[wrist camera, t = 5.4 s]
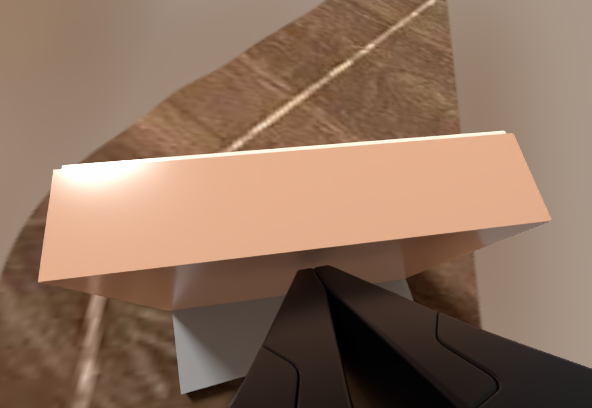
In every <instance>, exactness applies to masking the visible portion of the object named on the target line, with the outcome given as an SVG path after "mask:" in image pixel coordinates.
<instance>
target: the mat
mask: <svg viewBox="0 0 592 408" xmlns="http://www.w3.org/2000/svg"><path fill="white" fill-rule="evenodd" d="M372 284H375V285H377V286H379V287H382V288H384V289H386V290H389V291H391V292H393V293H396V294H398V295H400V296H403V297H405V298H407V299H409V300H412V301H414V300H413V298H412V295H411V292H410V289H409V287H408V284H407V281H406V278H405V279H401V280H394V281H387V282H379V283H372ZM285 296H286V295H284V296H277V297H269V298H262V299H255V300H248V301H240V302H233V303H226V304H218V305H211V306H204V307H196V308H189V309H182V310H174V311H172V315H173V325H174V334H175V343H176V352H177V361H178V370H179V379H180V388H181V394H184V393H188V392H191V391H195V390H198V389H202V388H205V387H209V386H212V385H216V384H219V383H223V382H226V381H230V380H234V379H237V378H241V377H244V376H246V375H247V373H248V371H249V369H250V367H251V365H252V363H253V361H254V359H255V357H256V355H257V353H258V351H259V349H260V348H261V346H262V344H263V342H264V340H265V337H266V335H267V333H268V331H269V329H270V327H271V325H272V323H273V321H274V319H275V316H276V314H277V312H278V310H279V308H280V306H281V304H282V302H283V300H284V298H285Z"/></svg>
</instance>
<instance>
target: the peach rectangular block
mask: <svg viewBox="0 0 592 408" xmlns="http://www.w3.org/2000/svg"><path fill="white" fill-rule="evenodd" d="M549 221H552V220H551V218H550V215H549V213H548V211H547V209H546V206H545V204H544V202H543V199H542V197H541V195H540V193H539V190H538V188H537V186H536V184H535V182H534V179H533V177H532V175H531V172H530V170H529V168H528V165H527V163H526V161H525V159H524V157H523V154H522V152H521V150H520V148H519V145H518V143H517V141H516V138H515V136H514V134H513V133H508V134H506V132H505V131H495V132H483V133H470V134H457V135H444V136H431V137H419V138H406V139H393V140H381V141H368V142H355V143H342V144H330V145H317V146H304V147H292V148H279V149H266V150H254V151H241V152H228V153H215V154H203V155H190V156H177V157H165V158H152V159H139V160H127V161H114V162H101V163H88V164H76V165H63V166H62V169H59V170H54V172H53V179H52V186H51V193H50V200H49V207H48V214H47V222H46V229H45V236H44V243H43V250H42V257H41V264H40V271H39V278H38V282H40V283H45V284H49V285H54V286H58V287H63V288H67V289H72V290H76V291H81V292H85V293H90V294H95V295H99V296H104V297H108V298H113V299H117V300H122V301H126V302H131V303H135V304H140V305H144V306H149V307H153V308H158V309H162V310H167V311H174V310H182V309H189V308H196V307H204V306H211V305H218V304H226V303H233V302H240V301H248V300H255V299H262V298H269V297H277V296H284V295H286V293H287V291H288V289H289V287H290V285H291V283H292V281H293V279H294V277H295V275H296V272H297V271H298V270H301V269H307V268H313V269H314V268H315V267H318V266H324V265H330V266H333V267H335V268H337V269H340V270H342V271H344V272H347V273H349V274H351V275H354V276H356V277H358V278H361V279H363V280H365V281H368V282H370V283H379V282H387V281H394V280H401V279H405V278H407V277H410V276H412V275H415V274H417V273H420V272H423V271H425V270H428V269H430V268H433V267H435V266H438V265H440V264H443V263H445V262H448V261H450V260H453V259H456V258H458V257H461V256H463V255H466V254H468V253H471V252H473V251H476V250H478V249H481V248H483V247H486V246H489V245H491V244H494V243H496V242H498V241H501V240H504V239H506V238H508V237H511V236H514V235H516V234H519V233H521V232H524V231H526V230H529V229H532V228H534V227H537V226H539V225H542V224H544V223H547V222H549Z"/></svg>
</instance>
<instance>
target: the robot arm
mask: <svg viewBox="0 0 592 408" xmlns="http://www.w3.org/2000/svg"><path fill="white" fill-rule="evenodd" d="M351 400H352V401H351ZM352 402H353V405H354V407H355V408H592V369H591V368H588V367H586V366H583V365H580V364H577V363H574V362H571V361H569V360H566V359H563V358H560V357H557V356H554V355H552V354H549V353H546V352H543V351H540V350H537V349H534V348H532V347H529V346H526V345H523V344H520V343H517V342H515V341H512V340H509V339H506V338H503V337H501V336H498V335H496V334H492V333H490V332H487V331H485V330H482V329H480V328H477V327H475V326H472V325H470V324H467V323H465V322H463V321H460V320H458V319H455V318H453V317H451V316H448V315H446V314H444V313H441V312H439V313H437V311H435V310H433V309H430V308H428V307H426V306H423V305H421V304H419V303H416V302H414V301H412V300H409V299H407V298H405V297H403V296H400V295H398V294H396V293H393V292H391V291H389V290H386V289H384V288H382V287H379V286H377V285H375V284H372V283H370V282H368V281H365V280H363V279H361V278H358V277H356V276H354V275H351V274H349V273H347V272H344V271H342V270H340V269H337V268H335V267H333V266H330V265H324V266H318V267H315V268H314V269H313V268H307V269H301V270H298V271H297V272H296V275H295V277H294V279H293V281H292V283H291V285H290V287H289V289H288V291H287V293H286V296H285V298H284V300H283V302H282V304H281V306H280V308H279V310H278V312H277V314H276V316H275V319H274V321H273V323H272V325H271V327H270V329H269V331H268V333H267V335H266V337H265V340H264V342H263V344H262V346H261V348H260V349H259V351H258V353H257V355H256V357H255V359H254V361H253V363H252V365H251V367H250V369H249V371H248V373H247V375H246V376H245V378H244V380H243V382H242V384H241V385H240V387H239V388H238V390H237V392H236V393H235V395H234V396H233V398H232V400H231V401H230V403H229V404H228V406H227V408H353V405H352Z"/></svg>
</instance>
